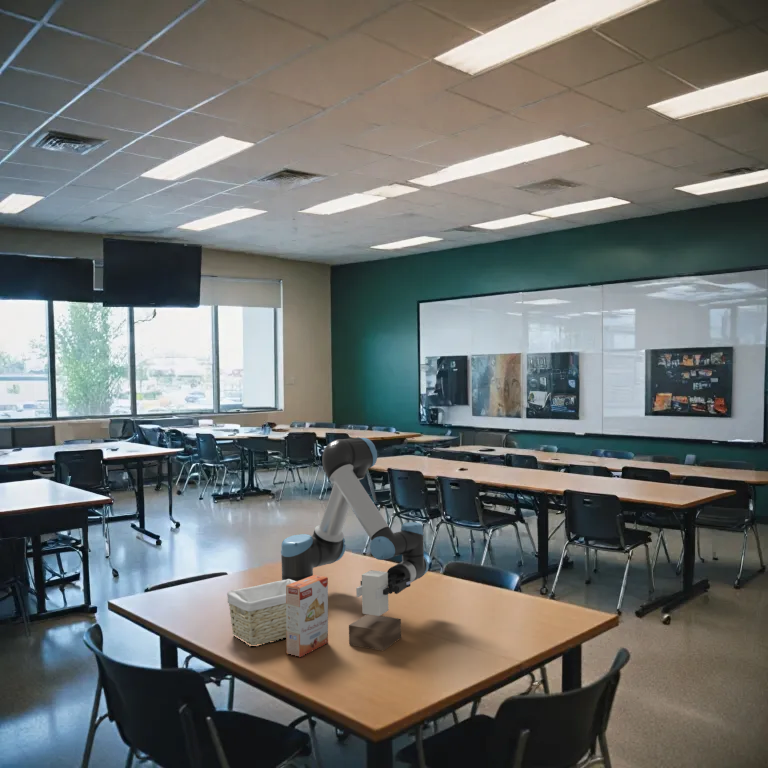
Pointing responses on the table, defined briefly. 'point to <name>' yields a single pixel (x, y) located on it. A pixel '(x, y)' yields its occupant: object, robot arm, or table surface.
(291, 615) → the cracker box
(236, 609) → the storage basket
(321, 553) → the robot arm
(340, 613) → the table surface
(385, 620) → the walnut block
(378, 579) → the white block
